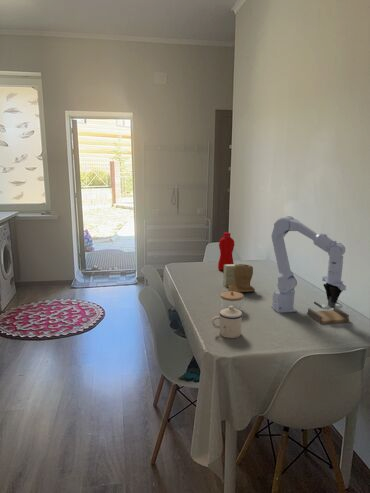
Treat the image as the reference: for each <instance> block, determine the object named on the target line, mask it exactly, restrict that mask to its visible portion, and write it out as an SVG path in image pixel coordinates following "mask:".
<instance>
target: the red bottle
mask: <svg viewBox="0 0 370 493" xmlns="http://www.w3.org/2000/svg"><path fill="white" fill-rule="evenodd" d="M218 248H219V252H220V254H219V260H218V264H217V269H218V270H219V271H221V270H223V271H222V272H224V265H226V264H234V263H235V262H234V258H233V252H234V248H235V241H234V238H232V237H231V232H223V237H221V238H220V239H219V243H218ZM234 265H235V264H234Z"/></svg>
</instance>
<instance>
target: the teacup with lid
mask: <svg viewBox="0 0 370 493" xmlns="http://www.w3.org/2000/svg"><path fill="white" fill-rule="evenodd" d="M242 318H243V312H242V311H241V309H239V310H237V309H235V308H234V307H233V306H229V308H226V309H223V308H222V309H221V310H220V312H219V315H216V316H213V317H212V319H211V323H212V326H213V327H214V328H215V329H218V330H219V334H220V335H221V337H224V338H226V339H236V338H239V337H241V335H242V321H243V319H242ZM217 319H219V325H216V323H215V320H217Z"/></svg>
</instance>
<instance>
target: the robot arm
mask: <svg viewBox="0 0 370 493" xmlns="http://www.w3.org/2000/svg"><path fill="white" fill-rule="evenodd" d="M290 232H298V233H300V234H301V235H304V236H305V237H306V238H308V239H310V240H312V241H313V245H314V246H316V247H318V248H319V249H321V250H323V251H324V252H325V253H327V254H328V256H329V259H328V264H327V265H328V266H327V273H326V274H327V276H322V279H321V281H322V282H325V283H323V287H324V290H325V293H326V299H327V301H328V298H329V296H331V302H332V303H336V302H338V300H339V298H340V296H341V294H342V293H343V292H344V291H346V290H347V286H346V285H345V284H344V280H342V278H343V276H342V275H343V264H344V255H345V253H346V247H345V246H344V244H343V243H341V242H337V240H333V239H332V238H330V237H328V234H326V233H317V232H316V231H314V230H312V229H311V228H309V227H308V226H307V225H305V224H304V223H303V222H301V221H300V220H299V219H297V218H294V217H293V216H289V215H287V216H285V217H280V218H278V219H277V220H276V221H275V222H274V224H273V229H272V233H271V240H272V242H271V243H272V245H273V246H272V247H273V250H274V254H275V259H276V260H275V261H276V264H277V268H278V276H277V281H278V282H277V290H278V291H275V292H273V294H272V306H271V308H272V309H274V310H275V311H276V312H277V313H279V314H283V313H294V312H298V310H297V309H296V308H294V306H295V293H296V291H295V288H296V287H297V285H298V280H297V278H296V277H295V275H294V272H293V271H292V270H291V266H290V262H289V256H288V252H287V248H286V242H285V237H286V236H287V234H288V233H290Z"/></svg>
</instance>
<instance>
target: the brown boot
mask: <svg viewBox="0 0 370 493" xmlns="http://www.w3.org/2000/svg"><path fill="white" fill-rule="evenodd" d="M234 265H235V266H234V277H235V283H234V284H233V285H229V287H228V291H234V292H239V293H249V292H250V293H251V292H252V293H253V292H255V291H256V288H255V287H254V286H251V280H252V278H253V276H254V267H253V266H252V265H251V264H244V263H236V264H234Z"/></svg>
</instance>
